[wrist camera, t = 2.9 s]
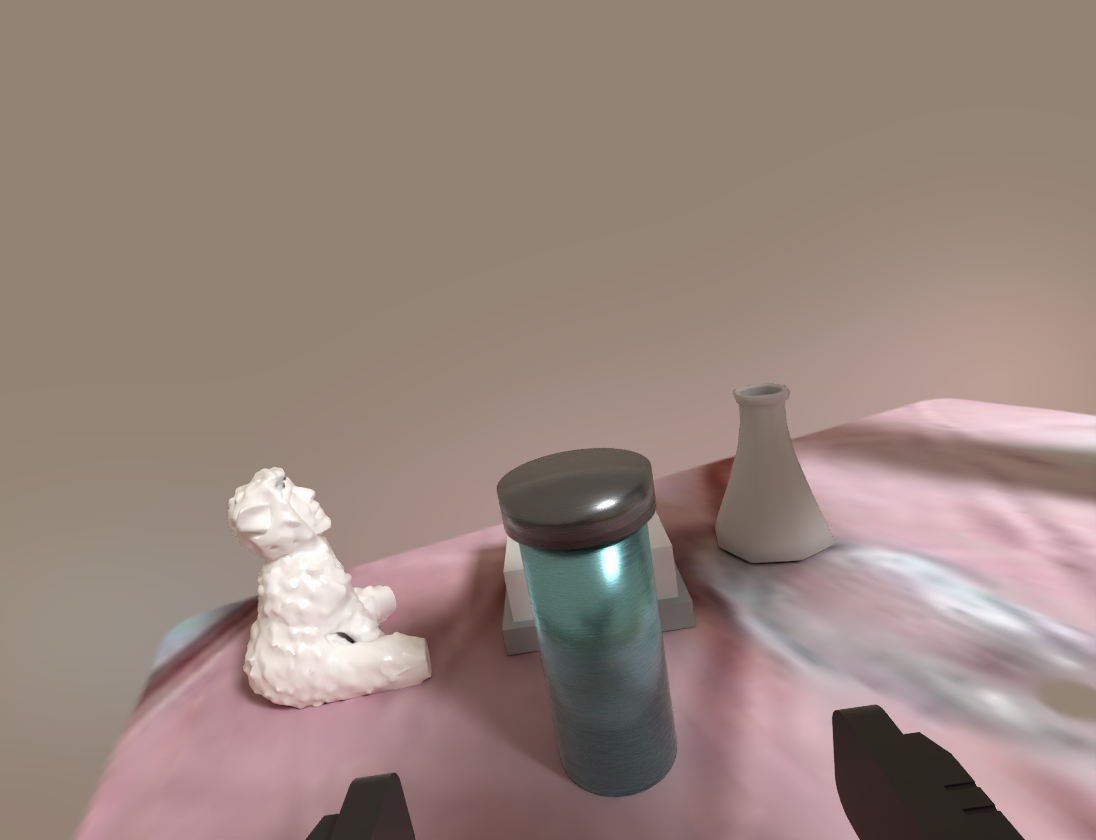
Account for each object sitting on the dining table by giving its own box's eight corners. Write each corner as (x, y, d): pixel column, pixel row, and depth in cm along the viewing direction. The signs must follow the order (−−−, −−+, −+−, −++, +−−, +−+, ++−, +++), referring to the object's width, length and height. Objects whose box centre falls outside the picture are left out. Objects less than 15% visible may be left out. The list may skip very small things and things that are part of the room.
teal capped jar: (670, 688, 27) (637, 439, 24) (703, 794, 22) (665, 490, 19) (549, 706, 27) (501, 461, 24) (552, 816, 22) (490, 519, 19)
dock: (658, 540, 41) (650, 479, 40) (695, 626, 31) (686, 549, 30) (514, 563, 41) (502, 503, 40) (507, 655, 32) (491, 579, 30)
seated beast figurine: (445, 679, 31) (390, 459, 28) (265, 769, 27) (178, 525, 24) (392, 604, 39) (346, 428, 36) (248, 665, 35) (182, 473, 32)
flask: (697, 527, 42) (682, 389, 39) (794, 506, 43) (785, 369, 40) (744, 577, 35) (729, 414, 32) (859, 551, 36) (853, 389, 33)
